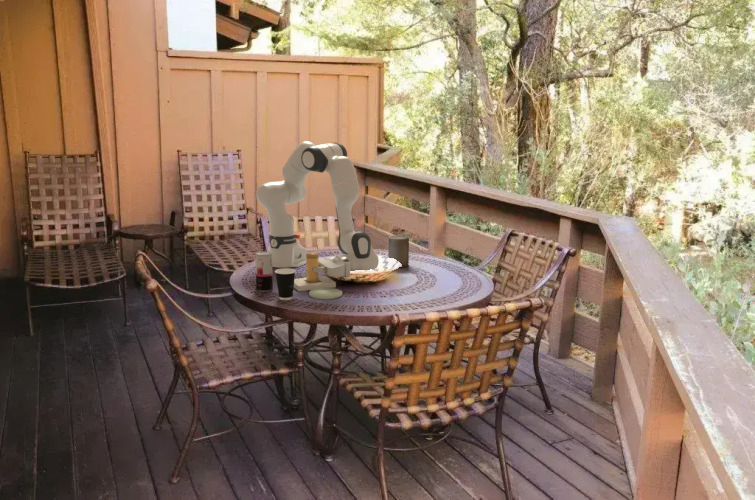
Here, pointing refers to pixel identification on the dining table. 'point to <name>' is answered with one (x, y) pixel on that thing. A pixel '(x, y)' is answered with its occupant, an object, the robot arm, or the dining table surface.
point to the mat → (325, 293)
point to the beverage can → (264, 271)
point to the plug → (310, 263)
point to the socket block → (323, 283)
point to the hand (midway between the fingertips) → (310, 268)
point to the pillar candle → (399, 249)
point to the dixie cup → (285, 283)
